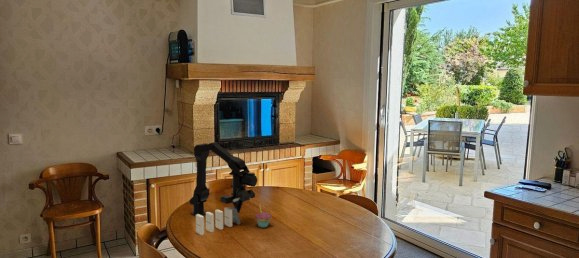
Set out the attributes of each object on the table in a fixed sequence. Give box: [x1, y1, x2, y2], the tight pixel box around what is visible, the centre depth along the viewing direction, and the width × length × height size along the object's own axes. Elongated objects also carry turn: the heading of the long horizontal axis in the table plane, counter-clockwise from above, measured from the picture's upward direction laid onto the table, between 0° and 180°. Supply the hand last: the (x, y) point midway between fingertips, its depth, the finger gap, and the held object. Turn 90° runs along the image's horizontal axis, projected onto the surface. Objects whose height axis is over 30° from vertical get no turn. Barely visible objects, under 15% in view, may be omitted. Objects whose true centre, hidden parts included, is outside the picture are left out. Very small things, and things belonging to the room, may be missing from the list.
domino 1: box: [195, 214, 205, 236], centre depth 194 cm, size 2×5×9 cm, turn 43°
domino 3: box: [214, 209, 224, 230], centre depth 201 cm, size 2×5×9 cm, turn 42°
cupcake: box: [254, 204, 273, 228], centre depth 205 cm, size 9×8×12 cm
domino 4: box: [223, 206, 233, 228], centre depth 205 cm, size 2×5×9 cm, turn 42°
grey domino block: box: [228, 206, 241, 225], centre depth 208 cm, size 2×5×9 cm, turn 41°
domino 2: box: [205, 211, 215, 233], centre depth 198 cm, size 2×5×9 cm, turn 42°
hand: (238, 212), depth 209 cm, fingers closed
